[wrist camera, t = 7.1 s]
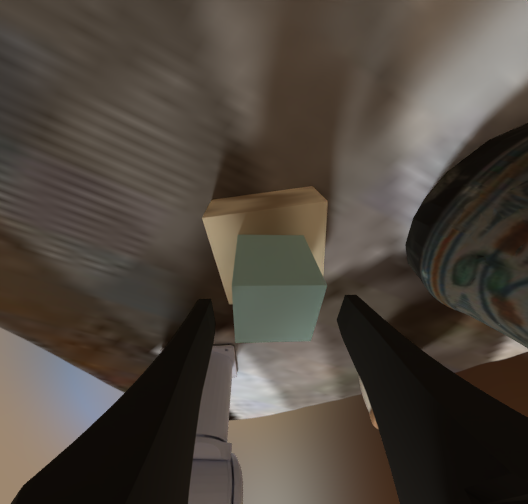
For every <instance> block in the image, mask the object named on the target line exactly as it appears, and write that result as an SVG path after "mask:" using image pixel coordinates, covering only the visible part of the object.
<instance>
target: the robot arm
mask: <svg viewBox="0 0 528 504" xmlns="http://www.w3.org/2000/svg"><path fill="white" fill-rule="evenodd" d="M337 322H338V326H339V329H340V332H341V335H342V338H343V341H344V343H345V345H346V347H347V350H348V352H349V354H350V356H351V359H352V361H353V363H354V365H355V368H356V370H357V372H358V374H359V376H360V379H361V381H362V383H363V386H364V388H365V391H366V393H367V396H368V399H369V402H370V405H371V408H372V410H373V413H374V416H375V419H376V423H377V426H378V429H379V432H380V435H381V438H382V441H383V445H384V448H385V451H386V455H387V458H388V461H389V465H390V468H391V472H392V476H393V479H394V483H395V486H396V490H397V494H398V498H399V502H400V504H528V417H526V416H524V415H522V414H521V413H519V412H517V411H515V410H514V409H512V408H510V407H508V406H507V405H505V404H503V403H502V402H500V401H498V400H496V399H495V398H493V397H491V396H490V395H488V394H486V393H485V392H483V391H482V390H480V389H478V388H477V387H475V386H473V385H472V384H470V383H469V382H467V381H466V380H464V379H463V378H461V377H459V376H458V375H456V374H455V373H453V372H452V371H450V370H449V369H447V368H446V367H444V366H443V365H442V364H440V363H439V362H437V361H436V360H435V359H433V358H432V357H430V356H429V355H428V354H426V353H425V352H423V351H422V350H421V349H419V348H418V347H417V346H416V345H414V344H413V343H412V342H411V341H409V340H408V339H407V338H405V337H404V336H403V335H402V334H401V333H399V332H398V331H397V330H396V329H395V328H393V327H392V326H391V325H390V324H389V323H388V322H386V321H385V320H384V319H383V318H382V317H381V316H379V315H378V314H377V313H376V312H375V311H374V310H373V309H372V308H371V307H369V306H368V305H367V304H366V303H365V302H364V301H363V300H362V299H360V298H359V297H358V296H357V295H345V297H344V300H343V303H342V306H341V309H340V312H339V315H338V318H337ZM214 334H215V318H214V313H213V307H212V302H211V299H199V300H198V301H197V302H196V304H195V306H194V307H193V309H192V310H191V312H190V313H189V315H188V316H187V318H186V319H185V321H184V322H183V324H182V325H181V327H180V328H179V329H178V331H177V332H176V334H175V335H174V336H173V338H172V339H171V340H170V342H169V343H168V344H167V345H166V347H165V348H162V349H161V350H160V354H159V355H158V357H157V358H156V359H155V360H154V361H153V363H152V364H151V365H150V366H149V367H148V368H147V370H146V371H145V372H144V373H143V374H142V375H141V376H140V377H139V378H138V380H137V381H136V382H135V383H134V384H133V385H132V386H131V387H130V388H129V389H128V390H127V391H126V392H125V393H124V394H123V395H122V396H121V397H120V398H119V399H118V400H117V401H116V402H115V403H114V404H113V405H112V406H111V407H110V408H109V409H108V410H107V411H106V412H105V413H104V414H103V415H102V416H101V417H100V418H99V419H98V420H97V421H96V422H94V423H93V424H92V425H91V426H90V427H89V428H88V429H87V430H86V431H85V432H84V433H83V434H82V435H81V436H80V437H78V438H77V439H76V440H75V441H74V442H73V443H72V444H71V445H69V447H67V448H66V449H65V450H64V451H63V452H61V453H60V454H59V455H58V456H57V457H56V458H55V459H53V460H52V461H51V462H50V463H49V464H48V465H46V466H45V467H44V468H43V469H42V470H41V471H40V472H38V473H37V474H36V475H35V476H34V477H33V478H31V479H30V480H29V481H28V482H27V483H26V484H24V485H23V487H22V488H21V490H20V491H19V492H18V494H17V495H16V497H15V498H14V500H13V501H12V503H11V504H243V481H242V471H241V467H240V464H239V462H238V459H237V457H236V455H235V454H233V453H231V449H232V444H231V443H227V435H228V421H229V408H230V395H231V381H232V378H235V377H237V368H236V359H235V350H234V346H232V345H222V346H213V342H214Z"/></svg>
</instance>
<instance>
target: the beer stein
mask: <svg viewBox="0 0 528 504" xmlns="http://www.w3.org/2000/svg"><path fill="white" fill-rule="evenodd" d="M406 253H407V260H408V264H409V265H410V267H411V268H412V269H413V270H414V271H415V273H416V274H417V275H418V276H419V278H420V279H421V281H422V283H423V284H424V286H425V287H426V288H427V290H428V291H429V293H430V294H431V295H432V296H433V297H434V298H436V299H437V300H438V301H440V302H441V303H442V304H444V305H446V306H447V307H449V308H452V309H454V310H457V311H459V312H462V313H465V314H467V315H469V316H471V317H473V318H475V319H477V320H479V321H481V322H483V323H484V324H486V325H488V326H490V327H492V328H493V329H495V330H497V331H499V332H501V333H503V334H505V335H506V336H508V337H510V338H511V339H513V340H515V341H517V342H518V343H520V344H522V345H523V346H525V347H527V348H528V123H527V124H525V125H523V126H521V127H518V128H516V129H514V130H511V131H509V132H507V133H504V134H502V135H500V136H497V137H495V138H493V139H491V140H489V141H487V142H486V143H485V144H483V145H482V146H481V147H479V148H478V149H477V150H476V151H474V152H473V153H472V154H470V155H469V156H468V157H466V158H465V159H464V160H463V161H461V162H460V163H459V164H457V165H456V166H455V167H453V168H452V169H451V170H449V171H448V172H447V173H446V174H445V175H444V177H443V178H442V179H441V180H440V181H439V183H438V184H437V185H436V186H435V187H434V189H433V190H432V191H431V192H430V193H429V195H428V196H427V197H426V198H425V199H424V201H423V202H422V204H421V206H420V208H419V209H418V211H417V213H416V215H415V216H414V218H413V221H412V225H411V228H410V231H409V235H408V238H407V241H406Z"/></svg>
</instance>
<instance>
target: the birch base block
mask: <svg viewBox="0 0 528 504" xmlns="http://www.w3.org/2000/svg"><path fill="white" fill-rule="evenodd" d="M327 205H328V201H327V200H326V199H325V198H324V197H323V196H322V195H321V194H320V193H319V192H318V191H317V190H316V189H315V188H314V187H313V186H309V187H301V188H294V189H287V190H279V191H272V192H264V193H257V194H250V195H242V196H235V197H228V198H220V199H213V200H211V202H210V204H209V206H208V208H207V210H206V211H205V213H204V215H203V217H202V220H203V223H204V226H205V229H206V232H207V236H208V239H209V242H210V245H211V248H212V252H213V255H214V258H215V261H216V264H217V267H218V271H219V274H220V277H221V280H222V283H223V287H224V290H225V293H226V296H227V299H228V302H229V304H233V300H232V279H233V270H234V262H235V254H236V246H237V237H238V235H304V237H305V239H306V242H307V244H308V246H309V248H310V250H311V252H312V254H313V256H314V258H315V261H316V263H317V265H318V267H319V269H320V271H321V273H322V275H323V270H324V254H325V238H326V222H327Z"/></svg>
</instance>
